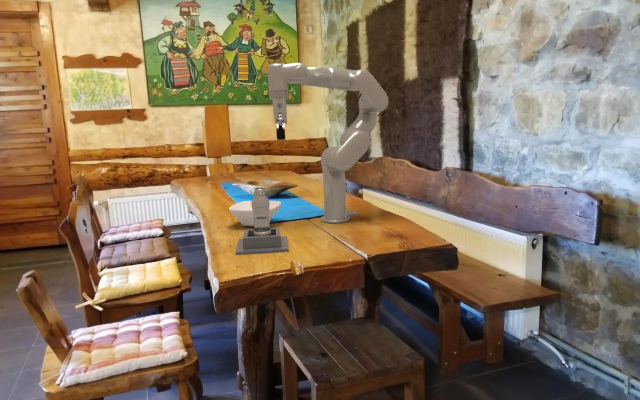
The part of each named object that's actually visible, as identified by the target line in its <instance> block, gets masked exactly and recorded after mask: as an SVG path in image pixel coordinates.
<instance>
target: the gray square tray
mask: <svg viewBox="0 0 640 400" xmlns="http://www.w3.org/2000/svg"><path fill="white" fill-rule="evenodd" d="M270 230H271V234H272V235H271V236H255V237H253V234H254V228H252V229H244V230H243V233H242V234H243V236H242V238H238V240H237V245H236V249H235V256H238V255H256V254H257V255H258V254H270V253H271V254H272V253H273V254H275V253H288V252H289V249H290V248H289V243H288V242H289V241H288V236H287V235H282V236H281V229H280V227H270Z"/></svg>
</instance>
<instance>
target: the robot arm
mask: <svg viewBox="0 0 640 400" xmlns="http://www.w3.org/2000/svg"><path fill="white" fill-rule="evenodd" d="M267 75H268V76H267V78H268V79H267V80H268V96H269V98H268V99H269V100H270V101H272V112H273V120H274V124H275V125H276V140H278V141H284V140H286V129H285V125H288V112H287V111H288V110H287V107H288V106H287V100H289V86H288V85H289V84H291V85H298V86H308V87H318V88H323V89H335V90H343V91H350V92H360V93H361V95H360V97H359V99H358V108H359V113H358V115H357V118H355V120H354V121H353V122H352V123H351V125H350V126H348V128H347V129H345V131H343V133H342V134H341V135H340V137H339V145H340V146H339V147H336V146H330V147H327V148H325V149H324V150H323V152H322V153H321V155H320V165H321V170H322V181H323V182H322V183H323V184H322V185H323V208H324V209H323V210H324V214H323V215H322V216H321V217H320V221H321V222H323V223H328V224H341V223H345V222H348V221H350V219H351V216H357V215H358V210H349V209H348V208H347V192H346V190H347V189H346V188H347V186H346V183H347V182H346V173H345V172H347V171H348V170H350V169H351V168H353V167H354V165H355V164H357V162H359V160H360V159H361V158H362V157H363V156H364V155H365V153H366V152H367V151H368V149H369V148H370V145H371V136H370V134H371V133H372V131H374V129H375V127H376V125H377V122H378V121H377V120H378V113H379V112H383V111H385V110H386V109H387V108H388V105H389V97H388V95H387V93H386V91H385V90H384V88H382V86H381V85H380V83H379V82H378V81H377V79H376V78H375V77H374V75H373V74H371V72H369V71H368V70H367V69H365V68H361V69H348V68H342V67H341V68H340V67H334V66H320V67H309V66H308V67H307V66H306V65H305V64H304V63H302V62H290V63H282V62H276V63H271V64H270V63H269V64H268V66H267Z"/></svg>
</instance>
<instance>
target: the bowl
mask: <svg viewBox="0 0 640 400" xmlns="http://www.w3.org/2000/svg"><path fill="white" fill-rule="evenodd" d="M251 202H252V200H244V201H240V202H237V203H235V204H232V205H231V206H230V207H229V208H228V210H229V212H230V214H231V215H232V217H234V218H236V219H238V221H239V222H240V224H241V225H242V226H243V227H244V226H246V227H254V216H253V210H252V206H251ZM269 203H270V205H269V224H270V223H271V221H272V219H273V217H274V215H276V214H277V213H278V211H279V210H280V207H281V205H282V202H281V201H278V200H269Z"/></svg>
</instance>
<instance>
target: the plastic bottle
mask: <svg viewBox="0 0 640 400" xmlns="http://www.w3.org/2000/svg"><path fill="white" fill-rule="evenodd" d="M253 189H254V190H253V191H254V196H253V198H252V200H251V201H252V202H251V206H252V210H253V216H254V226H253V229H254V234H253V237H255V236H271V235H272V234H271V230H270V228H271V225H270V223H269V205H270V203H269V201H270V200H269V199H268V197H267V196H266V195H265V194H266V188H265V187H255V188H253Z"/></svg>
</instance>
